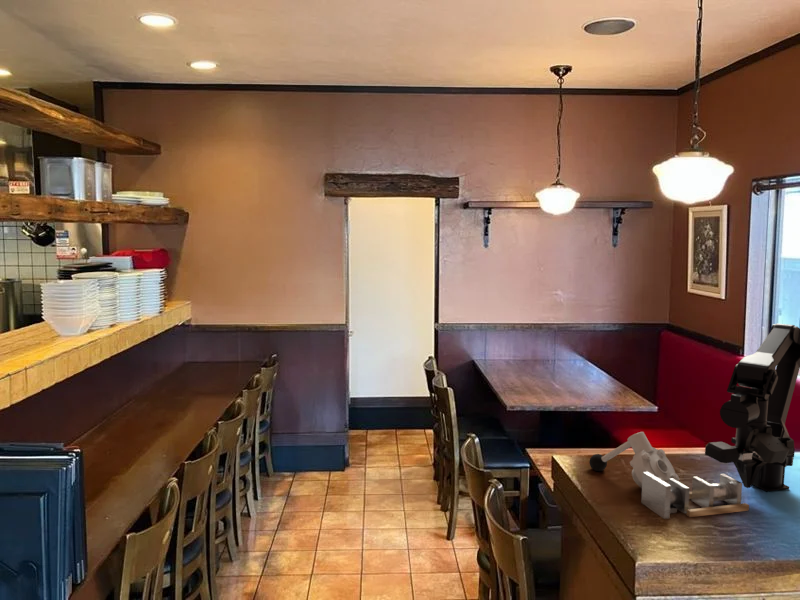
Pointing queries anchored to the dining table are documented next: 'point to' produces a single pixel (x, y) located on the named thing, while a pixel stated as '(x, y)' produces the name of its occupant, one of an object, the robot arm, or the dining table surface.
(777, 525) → the dining table surface
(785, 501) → the dining table surface
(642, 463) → the mechanical valve
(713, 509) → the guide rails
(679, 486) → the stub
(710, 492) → the grey slotted block
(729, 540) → the dining table surface
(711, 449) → the robot arm
